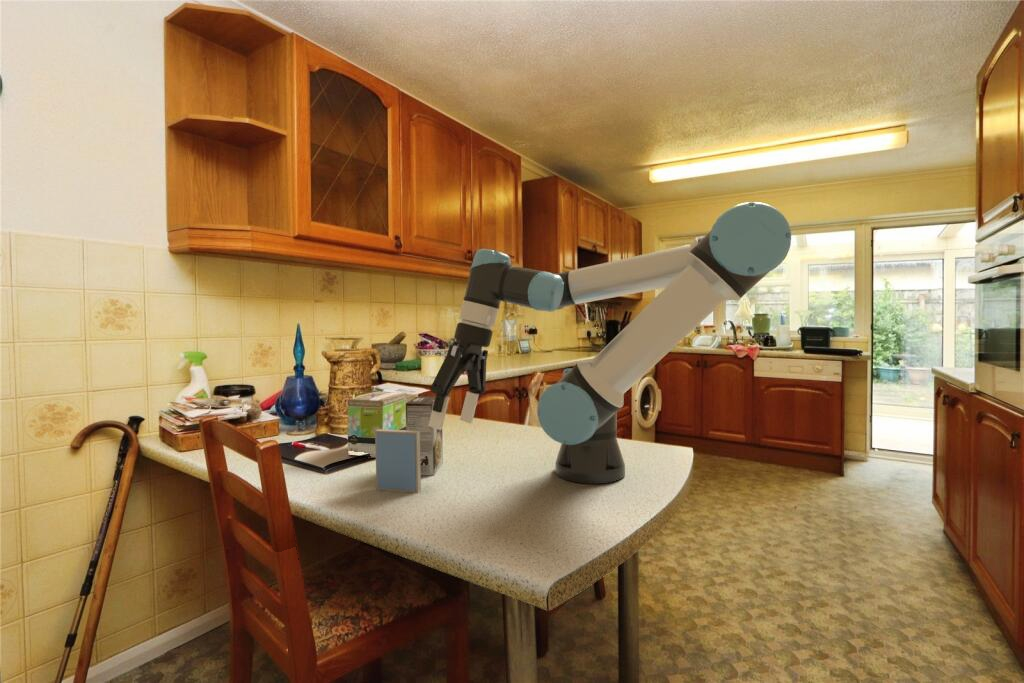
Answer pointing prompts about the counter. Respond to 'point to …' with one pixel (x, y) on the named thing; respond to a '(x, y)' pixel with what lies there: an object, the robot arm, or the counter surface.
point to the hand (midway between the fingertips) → (451, 424)
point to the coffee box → (425, 434)
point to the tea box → (374, 418)
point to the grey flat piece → (398, 460)
